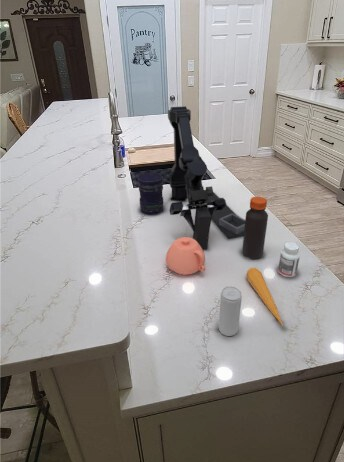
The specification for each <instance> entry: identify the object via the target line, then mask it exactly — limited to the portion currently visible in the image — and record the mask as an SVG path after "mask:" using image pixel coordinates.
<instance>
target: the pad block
mask: <svg viewBox="0 0 344 462" xmlns="http://www.w3.org/2000/svg"><path fill="white" fill-rule="evenodd" d="M193 223H194V227H195V232H193V231H192V232H193V233H192V239H194V240H196V241H197V242H198V244H199V245H200V246H201V248H202V250H203V251H206V250H208V246H209V239H210V230H211V225H210V224H212V219H211V215H210V212H209V210H208V208H196V209H195V214H194V221H193Z"/></svg>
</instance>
